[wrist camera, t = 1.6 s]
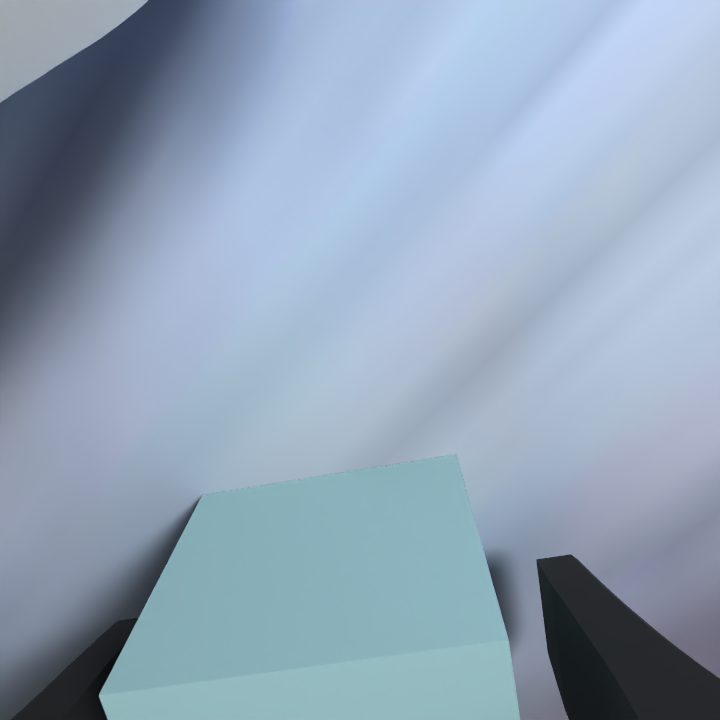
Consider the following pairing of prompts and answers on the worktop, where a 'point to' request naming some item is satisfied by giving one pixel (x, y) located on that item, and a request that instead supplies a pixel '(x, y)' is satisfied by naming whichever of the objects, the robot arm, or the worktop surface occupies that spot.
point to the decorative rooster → (51, 34)
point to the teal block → (323, 607)
